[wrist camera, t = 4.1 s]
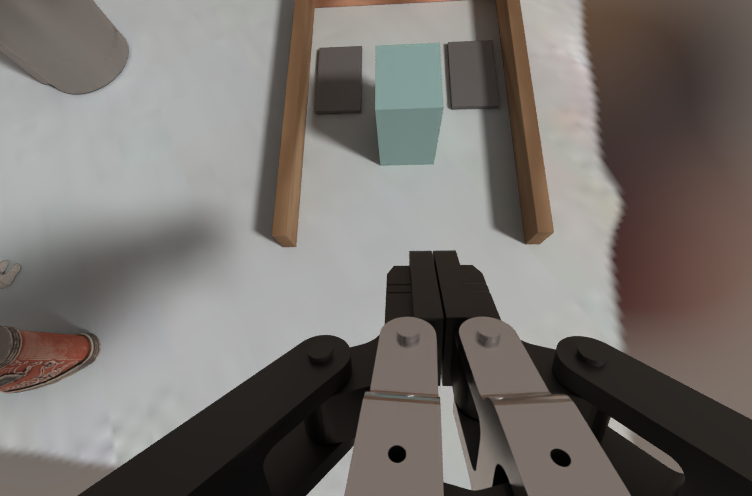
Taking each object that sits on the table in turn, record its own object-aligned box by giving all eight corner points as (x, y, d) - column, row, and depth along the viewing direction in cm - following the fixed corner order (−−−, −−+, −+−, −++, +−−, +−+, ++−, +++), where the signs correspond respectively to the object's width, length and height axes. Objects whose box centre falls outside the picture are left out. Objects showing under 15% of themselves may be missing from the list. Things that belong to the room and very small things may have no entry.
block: (380, 165, 34) (375, 109, 27) (380, 112, 36) (375, 45, 28) (433, 164, 34) (443, 107, 26) (431, 110, 36) (439, 42, 28)
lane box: (282, 246, 32) (258, 222, 27) (304, 0, 41) (289, -58, 35) (539, 244, 31) (571, 217, 25) (505, -11, 40) (523, -73, 34)
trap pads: (316, 114, 36) (315, 111, 36) (320, 51, 39) (319, 47, 38) (498, 108, 35) (499, 105, 35) (491, 43, 38) (492, 40, 37)
